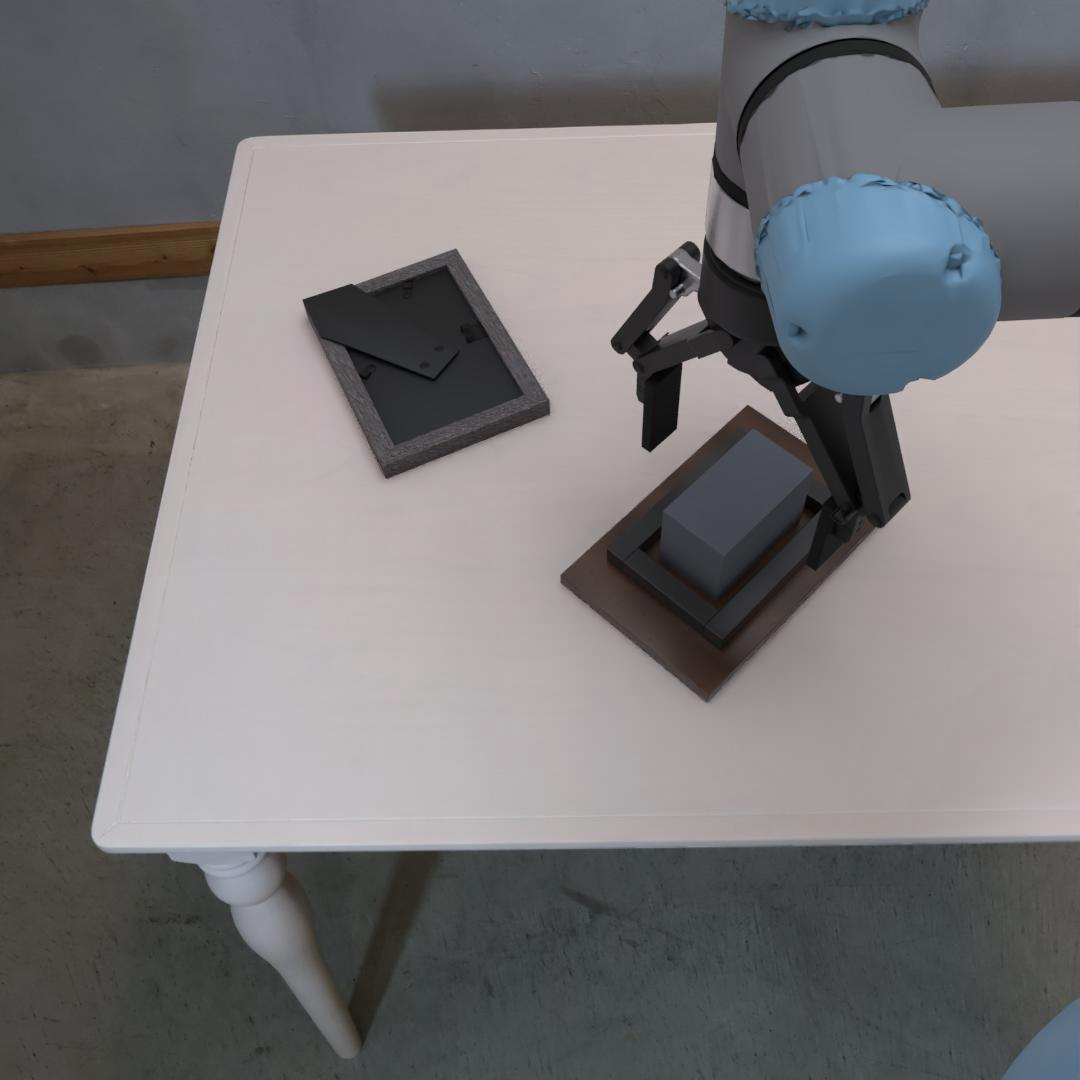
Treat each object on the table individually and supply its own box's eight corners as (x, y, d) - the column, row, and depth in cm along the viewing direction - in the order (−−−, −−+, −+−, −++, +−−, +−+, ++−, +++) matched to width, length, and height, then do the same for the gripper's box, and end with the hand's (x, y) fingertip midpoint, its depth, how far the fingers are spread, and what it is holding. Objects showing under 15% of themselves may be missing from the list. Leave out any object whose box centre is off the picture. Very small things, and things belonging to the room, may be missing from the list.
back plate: (746, 412, 84) (749, 390, 82) (892, 510, 79) (900, 490, 77) (560, 582, 77) (559, 563, 75) (707, 702, 72) (710, 686, 70)
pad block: (743, 480, 80) (753, 427, 75) (800, 520, 78) (814, 469, 73) (658, 559, 76) (662, 510, 71) (715, 604, 74) (723, 556, 69)
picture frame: (307, 317, 91) (386, 478, 82) (302, 299, 90) (381, 462, 81) (458, 262, 94) (550, 413, 85) (455, 244, 92) (549, 396, 83)
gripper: (1056, 321, 50) (938, 569, 68) (641, 95, 61) (633, 362, 78) (962, 418, 48) (864, 650, 66) (544, 164, 58) (558, 425, 76)
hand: (738, 494), depth 72 cm, fingers open, 13 cm apart
